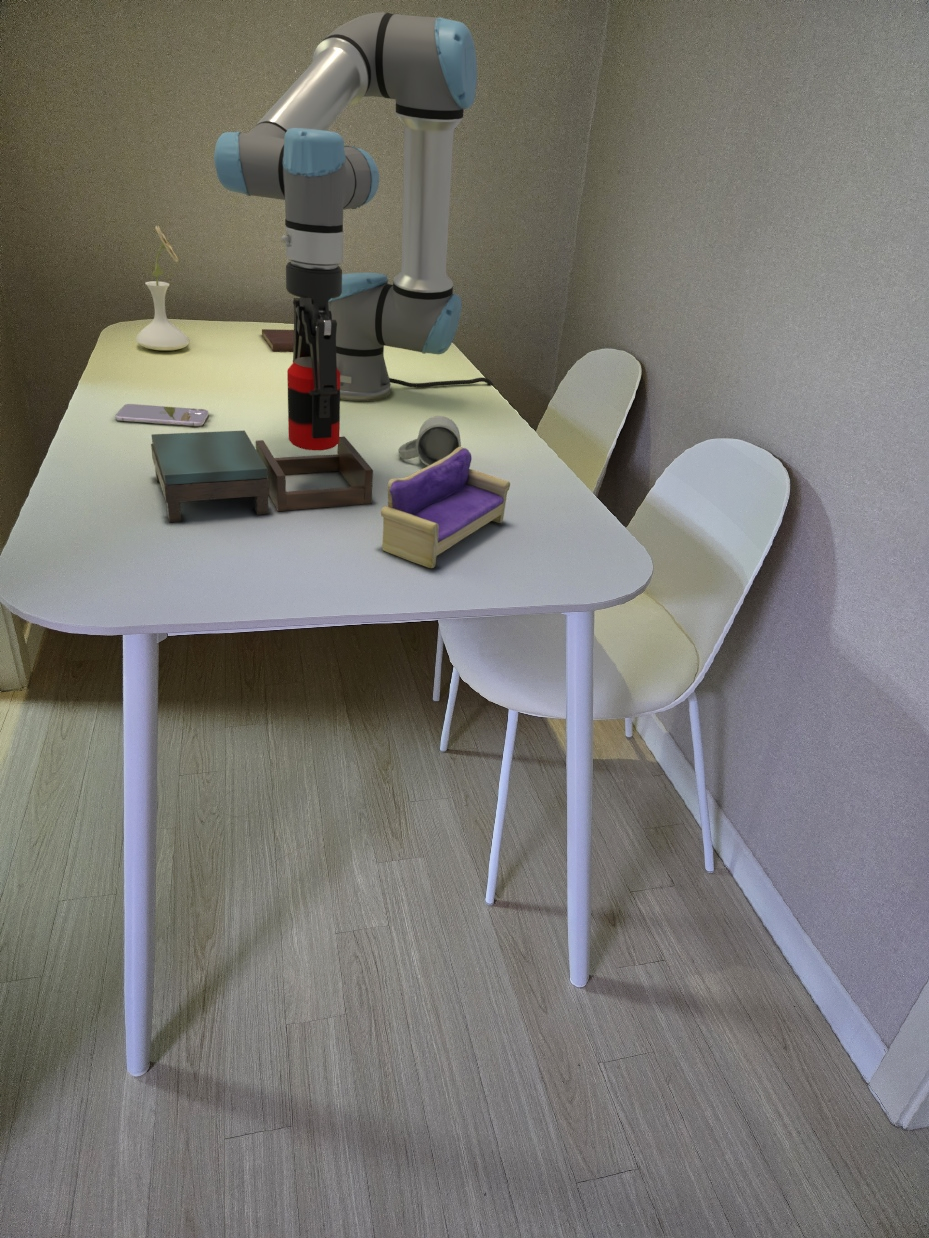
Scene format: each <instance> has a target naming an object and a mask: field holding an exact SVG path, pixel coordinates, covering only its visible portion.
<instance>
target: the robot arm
mask: <svg viewBox="0 0 929 1238" xmlns="http://www.w3.org/2000/svg"><path fill="white" fill-rule="evenodd" d="M477 83H478V64H477V53H476V47H475V43H474V38H473V35H472V33H471V31H470V29H469V28H468V27H467V25H465V23H463V22H461V21H459V20H453V19H448V18H444V17H441V16H439V17H433V16H421V15H409V14H399V13H390V12H385V11H384V12H383V11H382V12H380V11H378V12H377V11H376V12H370V13H367V14H362V15H360V16H357V17H355V18H353V19H351V20H349V21H347V22H345V23H344V24H341V25H340V26H338V27H337V28H336V29H334V30H333V31H331V32H330V33H328V35H327V36H326V37H325V38H323V39H322V41H321V42H320V43H319V44H317V46H316V47H315V50H314V51H313V54H312V61H311V63H310V65H309V66H308V67H307V68H306V69H305V70H304V71H303V72H302V74H301V75H300V76H299V77H298V78H297V79H296V80H295V81H294V82H293V84H291V85H290V87H289V88H288V89H287V90H286V91H285V92H284V94H282V96H281V97H280V98H278V100H277V101H276V102H275V103H274V104H273V105H272V107H271V108H270V109H269V110H267V112H266V113H265V114H264V115H263V117H261V119H259V121H257V123H256V124H255V125H254V126H253V127H252V129H250V131H249V132H247V133H243V132H242V131H240V130H237V131H236V132H235V131H226V132H223V133H222V134H220V136H219V137H218V139H217V140H216V143H215V146H214V147H215V148H214V152H213V153H214V154H213V161H214V162H213V163H214V168H215V172H216V176H217V179H218V181H219V183H220V185H222V187H224V189H225V190H227V191H229V192H233V193H238V194H242V195H246V196H247V197H251V196H253V197H260V198H266V199H267V198H268V199H275V200H281V201H282V200H283V201H284V210H285V213H284V214H285V217H284V218H285V219H284V225H285V234H282V235H281V237H280V238H281V242H282V243H283V244H285V257H286V259H288V260H289V262H288V261H287V263H286V265H285V289H286V291H287V292H288V294H290V295H292V296H293V297H294V296H295V297H294V298H293V300H292V304H293V330H294V343H293V351H292V363H293V362H294V360H295V359H297V358H301V357H311V361H312V371H313V381H314V391H309V393H310V395H312V437H313V438H330V437H331V436H332V395H333V394H337V391H338V389H337V369H338V370H339V371H340V400H344V401H350V402H351V401H352V402H372V401H379V400H382V399H386V398H387V397H389V396H390V395H391V385H392V384H395V385H396V384H397V385H399V386H403V387H408V388H414V389H415V388H416V389H417V388H418V389H419V388H430V387H441V386H443V387H444V386H457V385H474V384H476V383H486V384H487V386H494V383H493V382H492V381H491V380H490V379H489V378H487V377H476V378H472V379H457V380H439V381H429V382H408V381H405V380H401V379H398V378H397V379H396V378H392V377H390V376H389V372H388V368H387V364H386V361H385V355H384V351H385V347H390V348H395V349H402V350H406V351H413V352H416V353H422V354H430V355H443V354H445V353H446V352H447V351H448V350H449V349H450V347H451V345H452V344H453V341H454V338H455V336H456V334H457V330H458V327H459V323H460V318H461V313H462V306H463V305H462V298H461V296H460V295H458V294H457V293H454V282H453V280H452V279H451V278H450V277H449V275H448V274H447V257H448V241H449V240H448V239H449V225H450V224H449V222H450V205H451V204H450V203H451V186H452V167H453V150H454V148H453V147H454V131H455V129H456V127H458V126H459V124H460V123H462V121H463V119H464V111H465V110H467V109H470V108H471V107H472V106H473V104H474V102H475V98H476V89H477V87H478V86H477V85H478V84H477ZM366 97H374V98H375V97H376V98H384V99H390V100H395V115H396V116H397V118H398V119H399V121H400V122H401V124H402V125H403V164H402V165H403V169H402V171H403V172H402V215H401V217H402V218H401V222H402V224H401V264H400V265H401V267H400V271H399V272H398V273H397V274H396V275H395V276H394V277H393V280H392V284H390V283H389V278H388V276H387V274H385V273H380V272H352V273H343V269H342V268H341V266H339V265H341V264H342V262H343V263H344V211H345V210H350V209H351V210H356V209H357V208H358V209H360V208H361V207H362V206H364V205H366V204H368V203H370V202H371V201H372V200H373V199H374V198H375V196H376V194H377V192H378V189H379V186H380V171H379V168H378V165H377V163H376V161H375V160H374V158H373V157H372V155H371V154H369V153H368V151H366V150H364V149H363V148H360V147H358V146H357V147H356V146H355V145H353V146H351V145H345V141H344V137H343V136H342V135H341V134H340V133H338V132H335V131H331V130H329V129H330V127H331V126H332V125H333V124H334V123H335V121H336V120H337V119H338V118H339V116H340V115H341V114H342V112H343V111H344V110H345V109H346V108H347V107H348V106H352V105H355V104H357V103H359V102H361V100H362V99H363V98H366Z"/></svg>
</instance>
